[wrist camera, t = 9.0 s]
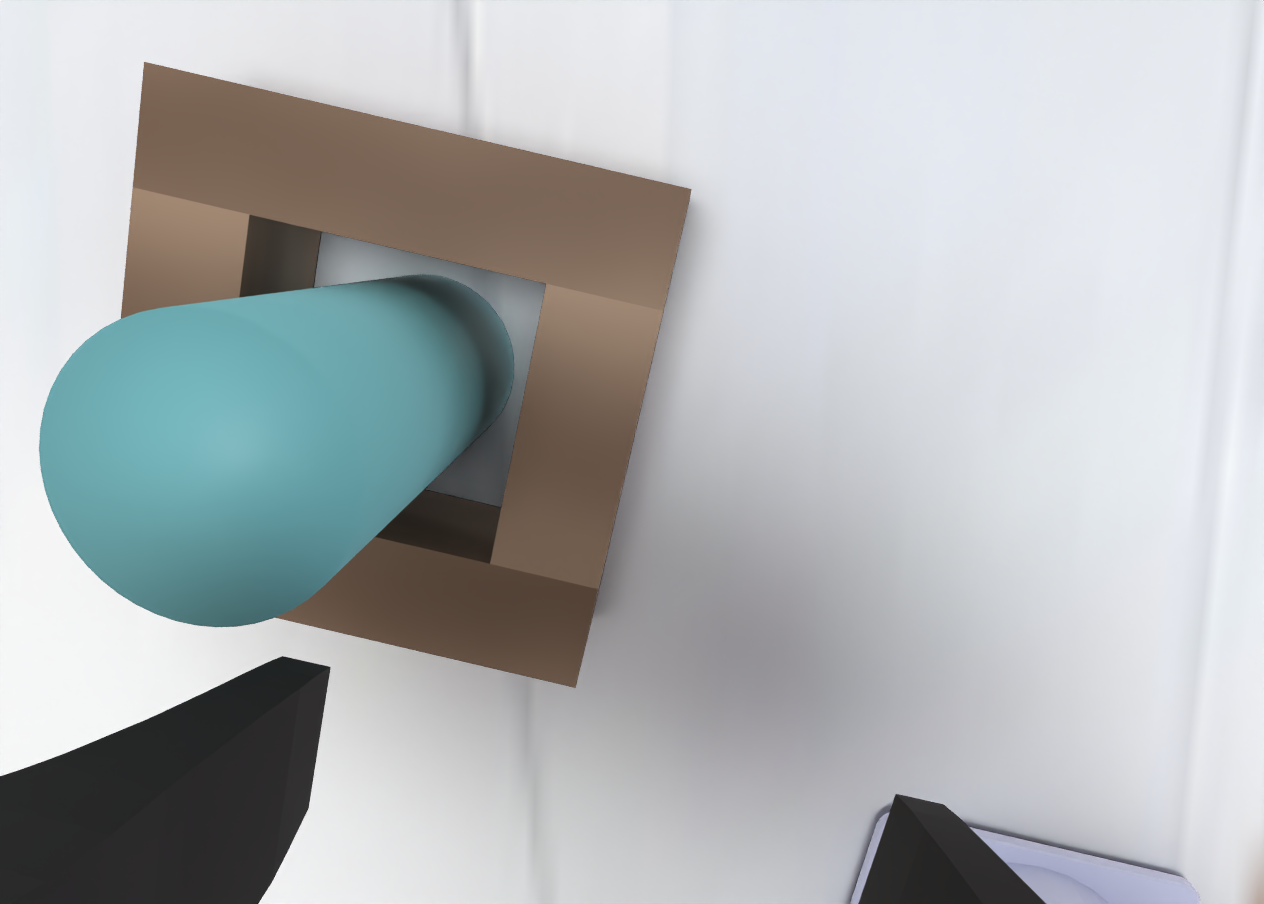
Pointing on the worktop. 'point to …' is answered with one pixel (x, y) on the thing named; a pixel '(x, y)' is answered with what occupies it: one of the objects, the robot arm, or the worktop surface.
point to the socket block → (458, 232)
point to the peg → (264, 437)
